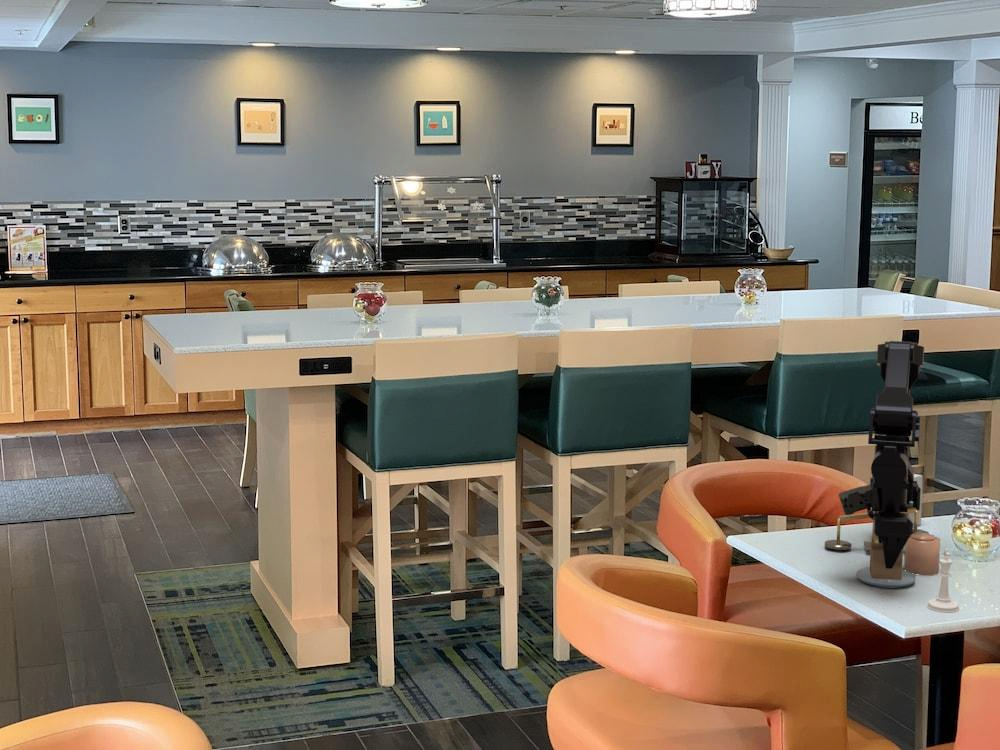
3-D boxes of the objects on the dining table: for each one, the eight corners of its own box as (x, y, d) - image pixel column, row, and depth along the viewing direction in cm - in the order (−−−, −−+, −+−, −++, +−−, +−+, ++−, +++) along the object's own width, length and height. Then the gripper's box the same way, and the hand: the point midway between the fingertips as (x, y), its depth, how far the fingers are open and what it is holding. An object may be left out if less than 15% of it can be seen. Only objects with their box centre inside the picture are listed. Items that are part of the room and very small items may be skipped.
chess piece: (938, 613, 211) (942, 554, 210) (921, 604, 216) (924, 546, 214) (965, 611, 212) (968, 552, 211) (947, 601, 217) (950, 543, 216)
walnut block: (869, 569, 231) (870, 542, 230) (898, 571, 230) (900, 544, 229) (871, 578, 226) (873, 550, 225) (901, 579, 225) (903, 552, 224)
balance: (823, 544, 251) (825, 499, 250) (925, 549, 248) (928, 504, 246) (825, 552, 246) (827, 507, 244) (929, 558, 242) (932, 512, 241)
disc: (853, 570, 234) (854, 565, 234) (911, 574, 232) (911, 568, 232) (858, 587, 224) (858, 581, 224) (918, 591, 222) (918, 585, 222)
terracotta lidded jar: (902, 564, 238) (903, 530, 237) (936, 566, 237) (938, 532, 236) (905, 574, 232) (907, 539, 231) (940, 576, 231) (942, 541, 230)
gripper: (839, 460, 236) (835, 543, 238) (846, 483, 218) (842, 573, 220) (903, 463, 234) (898, 547, 236) (915, 487, 216) (910, 577, 218)
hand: (886, 560), depth 228 cm, fingers open, 9 cm apart
